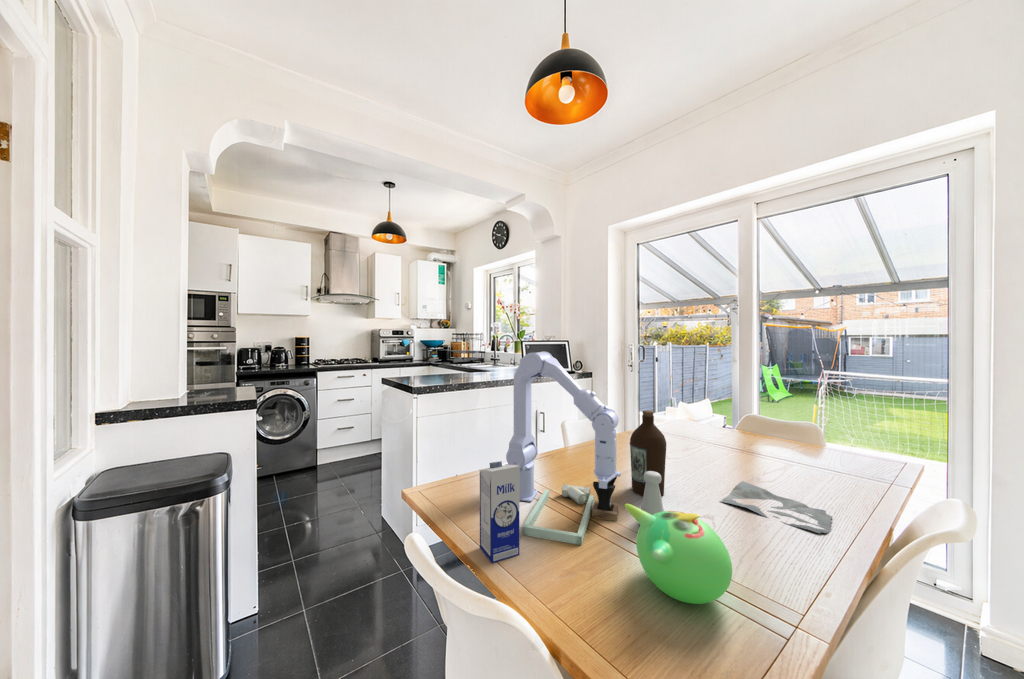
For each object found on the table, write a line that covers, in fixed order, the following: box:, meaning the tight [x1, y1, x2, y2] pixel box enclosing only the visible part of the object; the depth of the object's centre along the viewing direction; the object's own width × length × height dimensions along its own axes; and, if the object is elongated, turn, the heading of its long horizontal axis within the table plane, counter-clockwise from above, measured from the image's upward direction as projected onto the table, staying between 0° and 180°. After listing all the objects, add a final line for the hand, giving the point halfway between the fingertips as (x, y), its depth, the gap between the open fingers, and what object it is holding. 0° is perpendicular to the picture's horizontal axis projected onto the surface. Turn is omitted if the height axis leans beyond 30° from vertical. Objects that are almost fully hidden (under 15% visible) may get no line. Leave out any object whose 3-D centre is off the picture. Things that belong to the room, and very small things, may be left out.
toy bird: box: [624, 503, 733, 605], centre depth 73 cm, size 18×17×15 cm
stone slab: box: [719, 480, 833, 534], centre depth 106 cm, size 24×16×2 cm, turn 38°
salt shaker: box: [640, 471, 665, 515], centre depth 99 cm, size 6×6×13 cm
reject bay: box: [521, 488, 595, 546], centre depth 102 cm, size 14×24×2 cm, turn 161°
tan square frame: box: [591, 500, 619, 522], centre depth 104 cm, size 6×6×2 cm
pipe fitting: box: [561, 483, 591, 506], centre depth 112 cm, size 8×4×7 cm
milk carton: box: [478, 460, 520, 564], centre depth 86 cm, size 7×7×20 cm
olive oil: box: [629, 409, 667, 497], centre depth 118 cm, size 11×11×25 cm
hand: (605, 504), depth 104 cm, fingers open, 5 cm apart
